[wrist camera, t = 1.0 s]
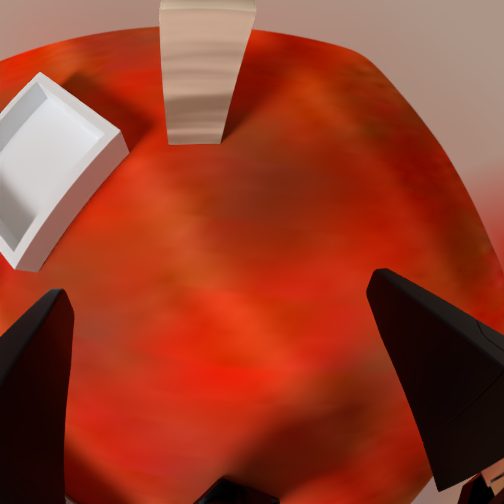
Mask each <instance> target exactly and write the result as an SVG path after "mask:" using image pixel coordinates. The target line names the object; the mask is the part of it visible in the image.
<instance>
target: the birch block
mask: <svg viewBox="0 0 504 504" xmlns="http://www.w3.org/2000/svg"><path fill="white" fill-rule="evenodd" d="M256 13H257V10H256V4H255V0H162V1H161V5H160V9H159V14H160V15H159V19H160V47H161V65H162V80H163V93H164V104H165V115H166V125H167V134H168V143H169V145H179V144H220V143H221V138H222V134H223V130H224V126H225V122H226V118H227V114H228V110H229V106H230V103H231V99H232V95H233V91H234V88H235V84H236V80H237V77H238V73H239V69H240V66H241V62H242V59H243V55H244V52H245V49H246V45H247V42H248V39H249V35H250V32H251V29H252V25H253V22H254V19H255V16H256Z"/></svg>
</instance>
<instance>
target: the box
mask: <svg viewBox="0 0 504 504" xmlns="http://www.w3.org/2000/svg"><path fill="white" fill-rule="evenodd" d="M128 154H129V150H128V148H127V145H126V143H125V140H124V138H123V135H122V133H121V131H120V130H119V129H118V128H116V127H115V126H114V125H112V124H111V123H110V122H108V121H107V120H106V119H104V118H103V117H101V116H100V115H99V114H97V113H96V112H95V111H93V110H92V109H91V108H89V107H88V106H86V105H85V104H84V103H82V102H81V101H80V100H78V99H77V98H76V97H74V96H73V95H71V94H70V93H69V92H67V91H66V90H64V89H63V88H62V87H60V86H59V85H58V84H56V83H55V82H53V81H52V80H51V79H49V78H48V77H46V76H45V75H44V74H42V73H41V72H39V73H38V74H37V75H36V76H35V77H34V78H33V79H32V80H31V81H30V82H29V83H28V84H27V85H26V86H25V87H24V88H23V89H22V90H21V91H20V92H19V93H18V94H17V96H16V97H15V98H14V99H13V100H12V101H11V102H10V103H9V104H8V105H7V107H6V108H5V109H4V110H3V111H2V112H1V114H0V252H1V253H2V254H3V256H4V257H5V258H6V259H7V261H8V262H9V263H10V264H11V266H12V267H13V268H14V269H15V270H23V271H31V272H38V271H39V270H40V268H41V267H42V265H43V263H44V262H45V260H46V259H47V257H48V256H49V254H50V253H51V251H52V250H53V248H54V247H55V245H56V244H57V242H58V241H59V239H60V238H61V236H62V235H63V234H64V232H65V231H66V229H67V228H68V227H69V225H70V224H71V223H72V221H73V220H74V218H75V217H76V216H77V215H78V213H79V212H80V211H81V209H82V208H83V207H84V205H85V204H86V203H87V202H88V200H89V199H90V198H91V197H92V195H93V194H94V193H95V192H96V190H97V189H98V188H99V187H100V186H101V184H102V183H103V182H104V181H105V180H106V179H107V177H108V176H109V175H110V174H111V173H112V172H113V171H114V169H115V168H116V167H117V166H118V165H119V164H120V163H121V162H122V161H123V159H124V158H125V157H126V156H127V155H128Z"/></svg>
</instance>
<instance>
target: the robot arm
mask: <svg viewBox="0 0 504 504" xmlns="http://www.w3.org/2000/svg"><path fill="white" fill-rule="evenodd" d="M366 295H367V299H368V301H369V304H370V307H371V310H372V313H373V315H374V318H375V321H376V324H377V327H378V330H379V333H380V335H381V338H382V340H383V343H384V345H385V347H386V349H387V352H388V354H389V356H390V359H391V361H392V363H393V366H394V368H395V370H396V373H397V375H398V378H399V380H400V383H401V385H402V387H403V390H404V393H405V395H406V398H407V400H408V403H409V405H410V408H411V411H412V413H413V416H414V419H415V421H416V424H417V427H418V430H419V433H420V435H421V438H422V441H423V445H424V448H425V451H426V454H427V457H428V460H429V463H430V466H431V470H432V473H433V476H434V480H435V483H436V487H437V490H438V491H439V492H441V491H443V490H445V489H447V488H450V487H452V486H454V485H456V484H458V483H460V482H462V481H464V480H466V479H468V478H470V477H472V476H474V475H476V474H477V475H476V476H474V477H473V478H472V479H471V480H469V481H468V482H467V483H466V484H465V485H463V487H462V490H461V494H460V497H459V500H458V504H504V335H502V334H501V333H499V332H497V331H495V330H494V329H492V328H490V327H489V326H487V325H485V324H484V323H482V322H480V321H479V320H477V319H475V318H474V317H472V316H470V315H469V314H467V313H465V312H464V311H462V310H460V309H459V308H457V307H455V306H453V305H452V304H450V303H448V302H447V301H445V300H443V299H441V298H440V297H438V296H436V295H434V294H433V293H431V292H429V291H427V290H426V289H424V288H422V287H420V286H419V285H417V284H415V283H413V282H411V281H410V280H408V279H406V278H404V277H402V276H400V275H399V274H397V273H395V272H393V271H391V270H389V269H387V268H381V269H376V270H375V271H374V272H373V274H372V277H371V279H370V282H369V285H368V287H367V291H366ZM73 328H74V311H73V308H72V306H71V303H70V301H69V298H68V296H67V293H66V291H65V290H64V289H62V288H60V289H50V290H49V291H48V292H47V293H46V294H45V295H43V296H42V297H41V298H40V299H39V300H38V301H37V302H36V303H35V304H34V305H33V306H31V307H30V308H29V309H28V310H27V311H26V312H25V313H24V314H23V315H22V316H21V317H20V318H19V319H18V320H17V321H16V322H15V323H14V324H13V325H12V326H11V327H10V328H9V329H8V330H7V331H6V332H5V333H4V334H3V335H2V336H1V337H0V504H66V498H65V481H64V436H65V417H66V405H67V395H68V386H69V378H70V370H71V357H72V340H73ZM223 483H224V484H225V485H221V484H223ZM274 502H275V503H274ZM194 504H280V501H279V499H278V498H275V497H272V496H269V495H268V494H266V493H263V492H260V491H257V490H255V489H252V488H249V487H245V486H241V485H238V484H236V483H233V482H231V481H229V480H226V479H220V480H218V481H217V482H216V483H215V484H214V485H213V486H212V487H211V488H210V489H209V490H208V491H207V492H206V493H205V494H204V495H203V496H202V497H201V498H200V499H199V500H198V501H197V502H195V503H194Z"/></svg>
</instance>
